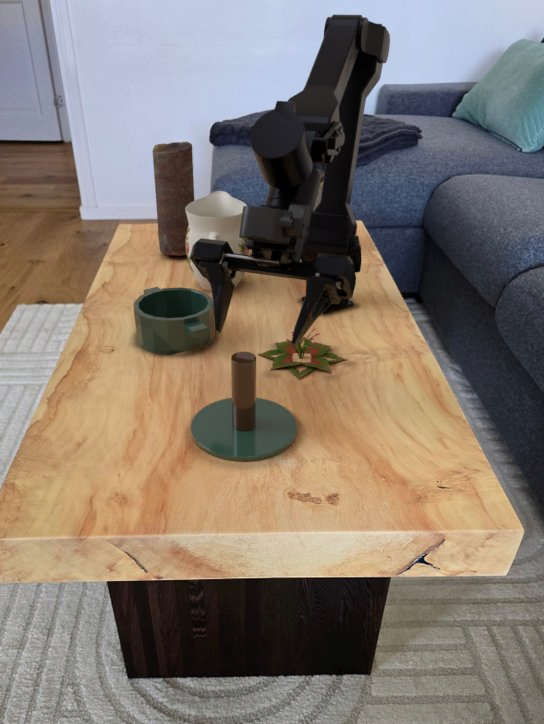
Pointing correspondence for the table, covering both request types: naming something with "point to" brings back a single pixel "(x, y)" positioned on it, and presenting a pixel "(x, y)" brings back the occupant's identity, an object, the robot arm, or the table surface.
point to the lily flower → (310, 348)
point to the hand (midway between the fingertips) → (255, 338)
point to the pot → (174, 320)
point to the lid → (243, 419)
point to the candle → (173, 194)
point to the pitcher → (215, 227)
